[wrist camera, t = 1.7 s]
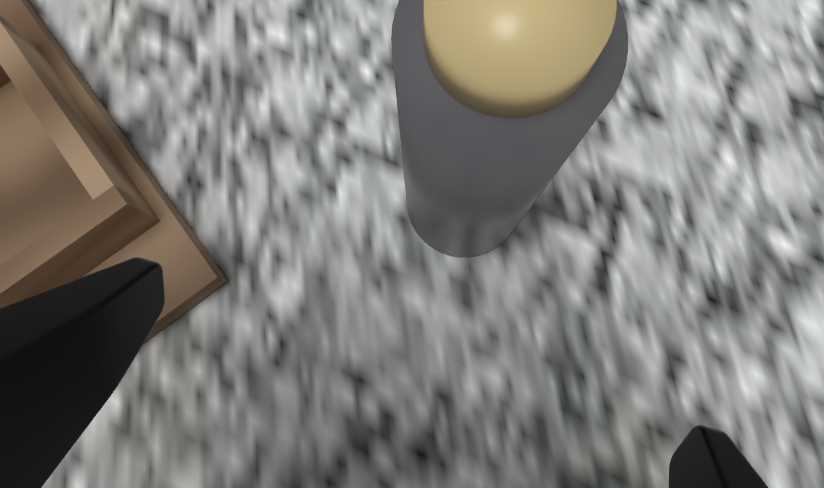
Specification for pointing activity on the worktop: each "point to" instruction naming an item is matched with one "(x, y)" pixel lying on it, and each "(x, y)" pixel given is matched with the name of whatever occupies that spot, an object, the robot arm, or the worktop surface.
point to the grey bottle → (496, 106)
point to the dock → (78, 182)
